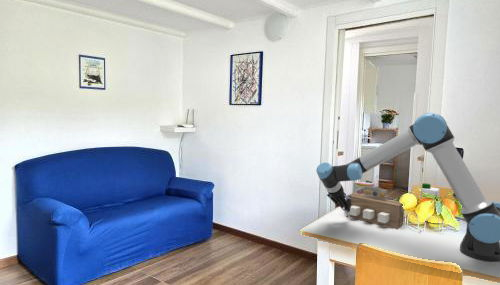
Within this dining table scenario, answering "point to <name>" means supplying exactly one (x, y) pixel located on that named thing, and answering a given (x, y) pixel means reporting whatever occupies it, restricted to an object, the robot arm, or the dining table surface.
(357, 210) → the button left
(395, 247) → the dining table surface
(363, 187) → the candy bar box
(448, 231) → the dining table surface
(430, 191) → the milk carton
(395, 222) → the console
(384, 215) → the button right
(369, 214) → the button middle
